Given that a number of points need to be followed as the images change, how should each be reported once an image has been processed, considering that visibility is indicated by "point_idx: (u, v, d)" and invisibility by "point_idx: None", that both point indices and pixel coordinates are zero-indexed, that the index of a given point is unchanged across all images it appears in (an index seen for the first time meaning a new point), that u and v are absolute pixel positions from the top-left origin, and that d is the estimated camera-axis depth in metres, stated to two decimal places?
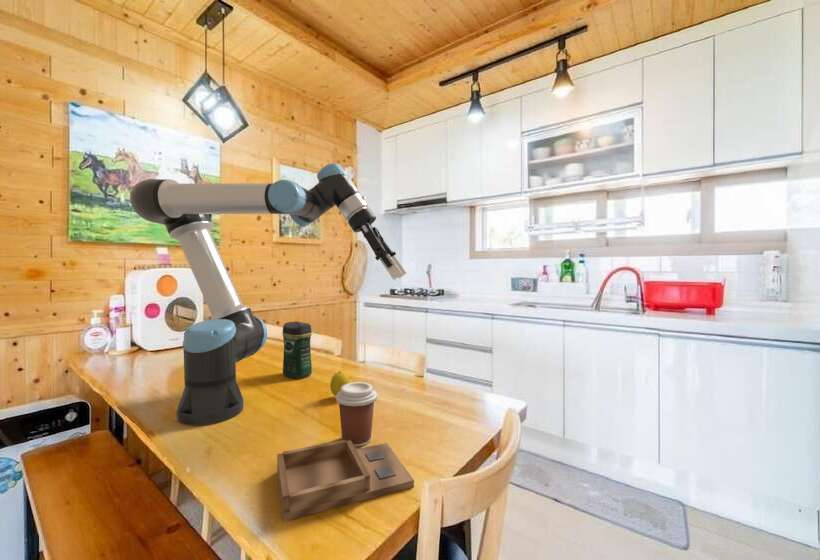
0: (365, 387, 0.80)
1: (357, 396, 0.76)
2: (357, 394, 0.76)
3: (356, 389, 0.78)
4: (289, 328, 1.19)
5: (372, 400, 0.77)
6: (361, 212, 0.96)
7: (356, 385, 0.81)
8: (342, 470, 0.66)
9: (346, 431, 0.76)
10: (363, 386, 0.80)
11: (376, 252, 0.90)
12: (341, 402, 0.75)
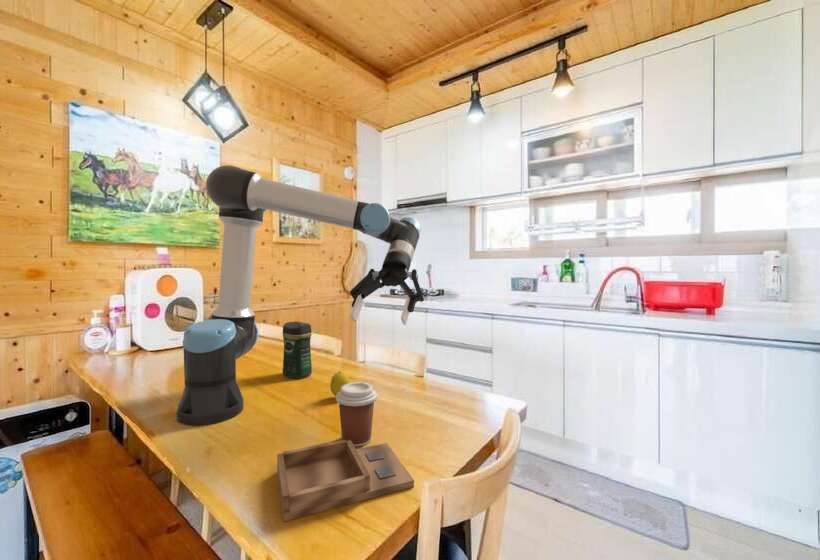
0: (365, 387, 0.80)
1: (357, 396, 0.76)
2: (357, 394, 0.76)
3: (356, 389, 0.78)
4: (289, 328, 1.19)
5: (372, 400, 0.77)
6: None
7: (356, 385, 0.81)
8: (342, 470, 0.66)
9: (346, 431, 0.76)
10: (363, 386, 0.80)
11: None
12: (341, 402, 0.75)
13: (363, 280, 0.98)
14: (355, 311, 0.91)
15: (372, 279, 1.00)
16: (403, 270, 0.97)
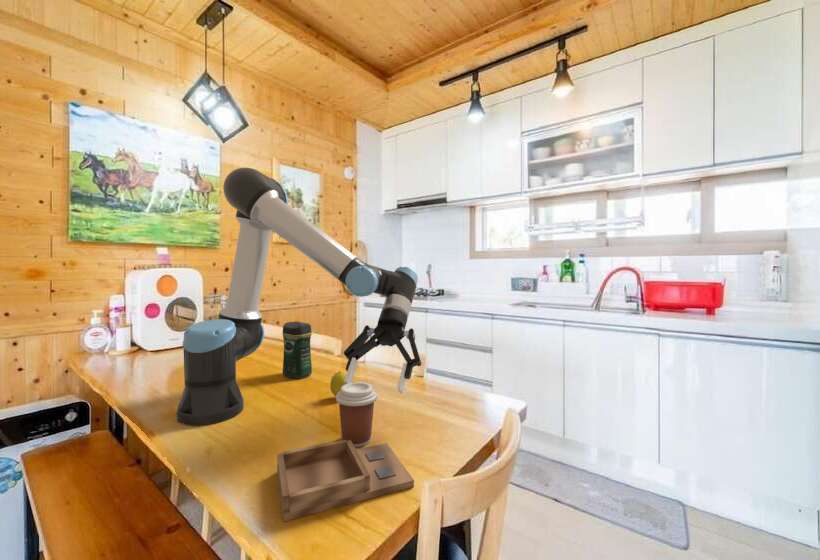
0: (365, 387, 0.80)
1: (357, 396, 0.76)
2: (357, 394, 0.76)
3: (356, 389, 0.78)
4: (289, 328, 1.19)
5: (372, 400, 0.77)
6: None
7: (356, 385, 0.81)
8: (342, 470, 0.66)
9: (346, 431, 0.76)
10: (363, 386, 0.80)
11: (419, 359, 0.86)
12: (341, 402, 0.75)
13: (357, 339, 0.93)
14: (349, 376, 0.86)
15: (367, 337, 0.95)
16: (400, 329, 0.93)
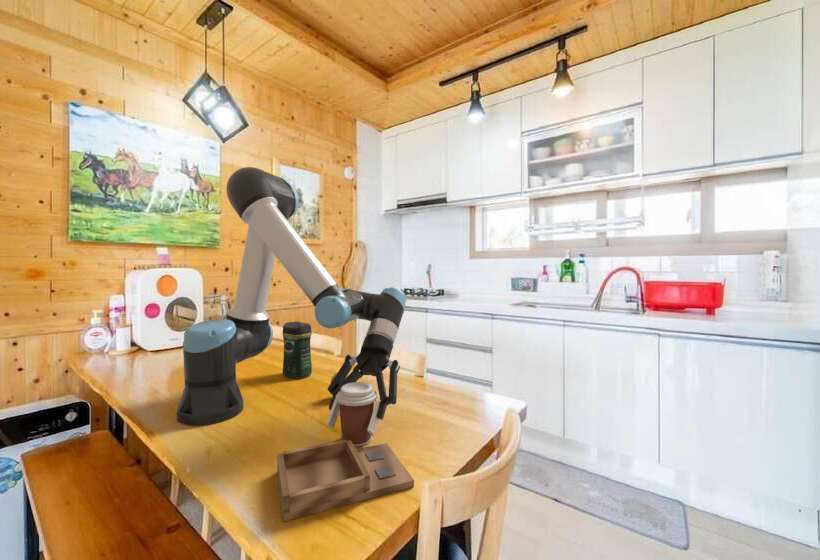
0: (365, 387, 0.80)
1: (357, 396, 0.76)
2: (357, 394, 0.76)
3: (356, 389, 0.78)
4: (289, 328, 1.19)
5: (372, 400, 0.77)
6: (392, 348, 0.90)
7: (356, 385, 0.81)
8: (342, 470, 0.66)
9: (346, 431, 0.76)
10: (363, 386, 0.80)
11: (394, 397, 0.78)
12: (341, 402, 0.75)
13: (340, 371, 0.85)
14: (332, 417, 0.78)
15: (350, 367, 0.87)
16: (384, 357, 0.85)
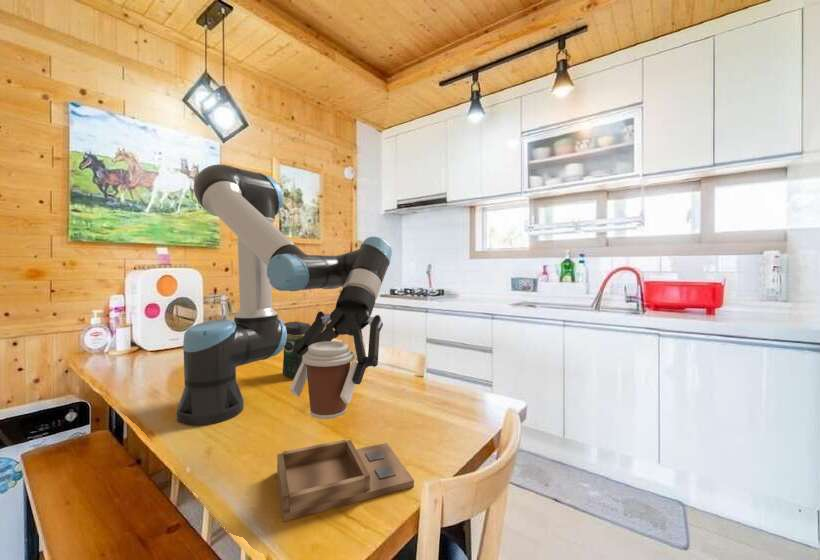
0: (340, 345, 0.65)
1: (328, 354, 0.60)
2: (328, 352, 0.60)
3: (327, 348, 0.63)
4: (289, 328, 1.19)
5: (347, 360, 0.61)
6: (374, 304, 0.75)
7: (328, 344, 0.65)
8: (342, 470, 0.66)
9: (315, 399, 0.61)
10: (337, 345, 0.65)
11: (374, 357, 0.63)
12: (308, 362, 0.60)
13: (310, 330, 0.70)
14: (297, 383, 0.63)
15: (322, 326, 0.72)
16: (363, 313, 0.70)
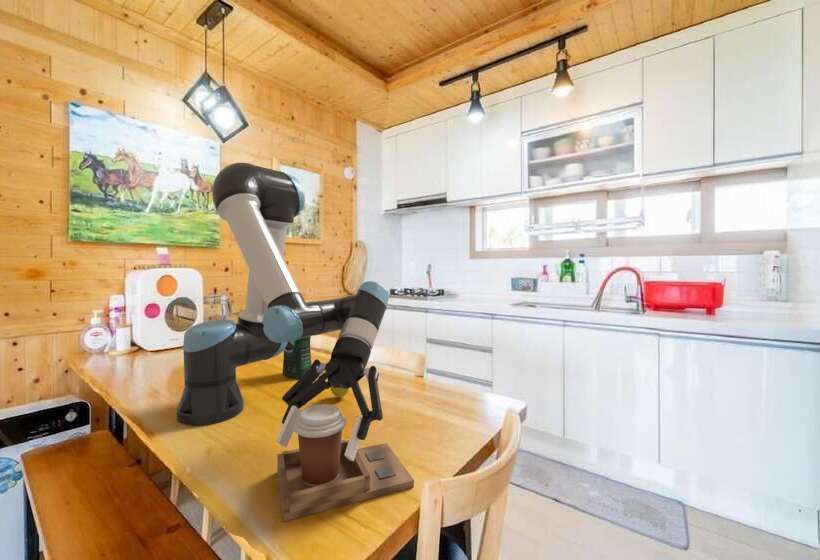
0: (332, 411, 0.64)
1: (319, 424, 0.60)
2: (319, 422, 0.60)
3: (318, 415, 0.62)
4: None
5: (338, 429, 0.61)
6: None
7: (320, 408, 0.65)
8: (342, 470, 0.66)
9: (306, 468, 0.61)
10: (329, 410, 0.64)
11: (379, 411, 0.63)
12: (298, 432, 0.60)
13: (302, 379, 0.70)
14: (284, 434, 0.63)
15: (316, 375, 0.72)
16: (358, 366, 0.69)
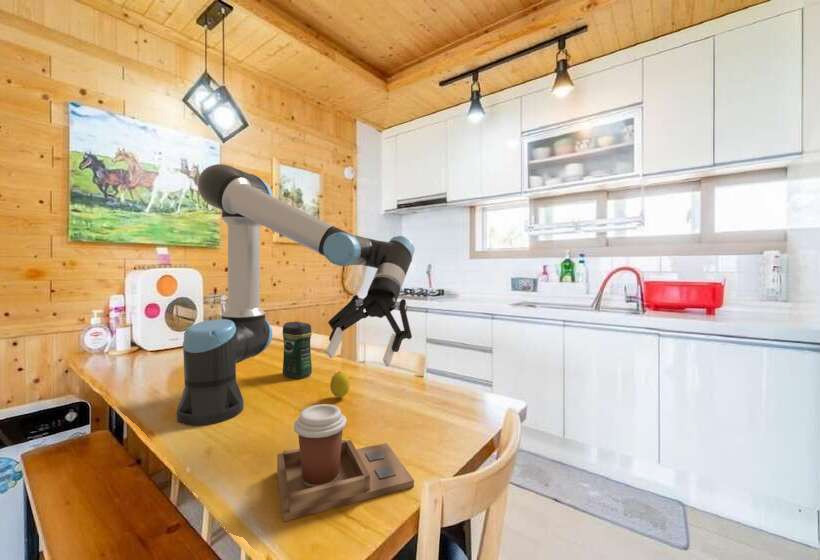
0: (332, 411, 0.64)
1: (319, 424, 0.60)
2: (319, 422, 0.60)
3: (319, 415, 0.62)
4: (289, 328, 1.19)
5: (339, 429, 0.61)
6: None
7: (321, 408, 0.65)
8: (342, 470, 0.66)
9: (306, 468, 0.61)
10: (329, 410, 0.64)
11: (409, 331, 0.78)
12: (299, 432, 0.60)
13: (344, 309, 0.85)
14: (331, 347, 0.79)
15: (355, 307, 0.87)
16: (390, 299, 0.85)
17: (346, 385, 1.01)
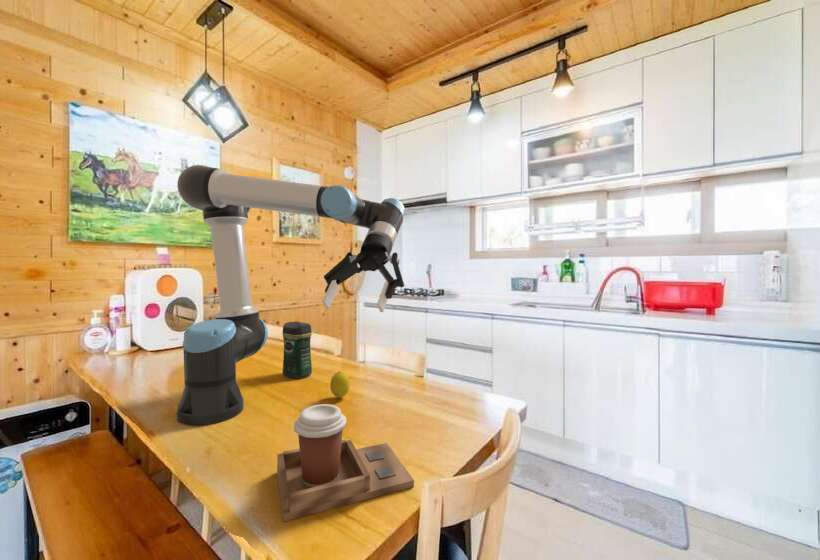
0: (332, 411, 0.64)
1: (319, 424, 0.60)
2: (319, 422, 0.60)
3: (319, 415, 0.62)
4: (289, 328, 1.19)
5: (339, 429, 0.61)
6: (391, 249, 0.92)
7: (321, 408, 0.65)
8: (342, 470, 0.66)
9: (306, 468, 0.61)
10: (329, 410, 0.64)
11: (402, 279, 0.81)
12: (299, 432, 0.60)
13: (339, 264, 0.89)
14: (327, 297, 0.82)
15: (349, 263, 0.91)
16: (383, 253, 0.88)
17: (346, 385, 1.01)
